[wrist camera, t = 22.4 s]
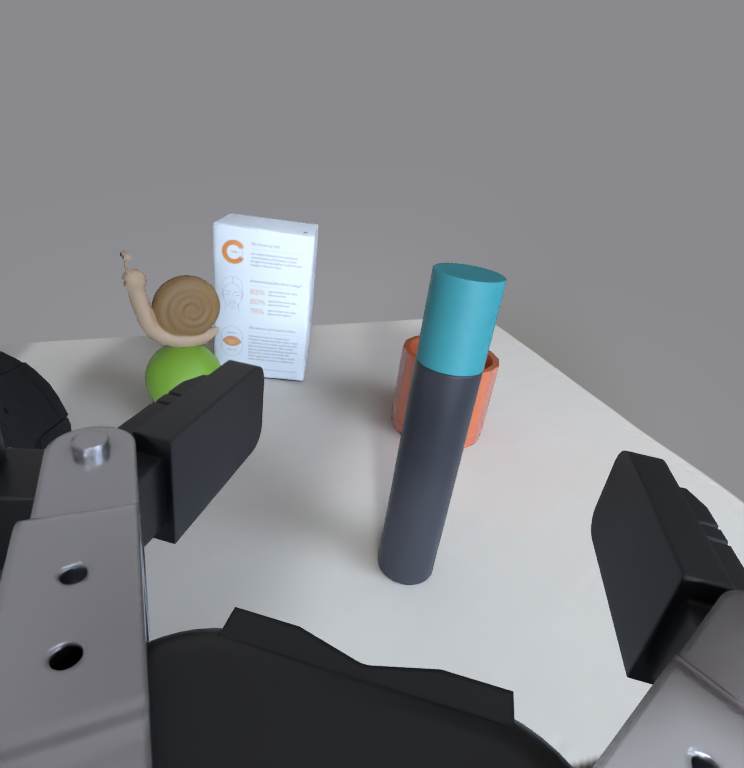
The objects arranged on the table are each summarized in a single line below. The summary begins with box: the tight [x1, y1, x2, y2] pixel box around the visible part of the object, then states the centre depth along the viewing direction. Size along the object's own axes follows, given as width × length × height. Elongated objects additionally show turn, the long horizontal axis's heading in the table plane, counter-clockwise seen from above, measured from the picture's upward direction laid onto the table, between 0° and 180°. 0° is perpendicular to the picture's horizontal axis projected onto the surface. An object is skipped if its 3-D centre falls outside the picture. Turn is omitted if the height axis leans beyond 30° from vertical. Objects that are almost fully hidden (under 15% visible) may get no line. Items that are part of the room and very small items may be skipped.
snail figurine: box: [120, 250, 221, 402], centre depth 35 cm, size 5×6×12 cm
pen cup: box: [391, 336, 499, 447], centre depth 40 cm, size 7×7×6 cm
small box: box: [213, 213, 318, 381], centre depth 45 cm, size 8×6×13 cm
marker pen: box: [378, 263, 506, 585], centre depth 24 cm, size 3×3×16 cm
